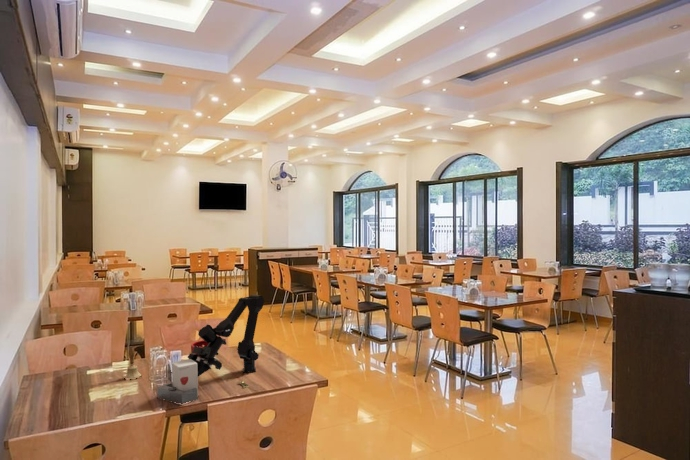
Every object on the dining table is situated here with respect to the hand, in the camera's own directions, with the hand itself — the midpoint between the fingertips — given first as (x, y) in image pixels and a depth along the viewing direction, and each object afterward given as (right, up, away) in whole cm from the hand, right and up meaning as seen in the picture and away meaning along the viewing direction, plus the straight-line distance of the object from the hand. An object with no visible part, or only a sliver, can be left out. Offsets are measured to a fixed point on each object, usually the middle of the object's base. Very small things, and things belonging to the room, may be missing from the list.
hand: (194, 377), depth 218 cm
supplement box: (-3, -7, -4) cm, 9 cm away
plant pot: (-8, -6, +40) cm, 41 cm away
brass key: (+21, -6, +7) cm, 23 cm away
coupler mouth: (-5, -7, -8) cm, 12 cm away
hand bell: (-38, -7, +22) cm, 45 cm away
